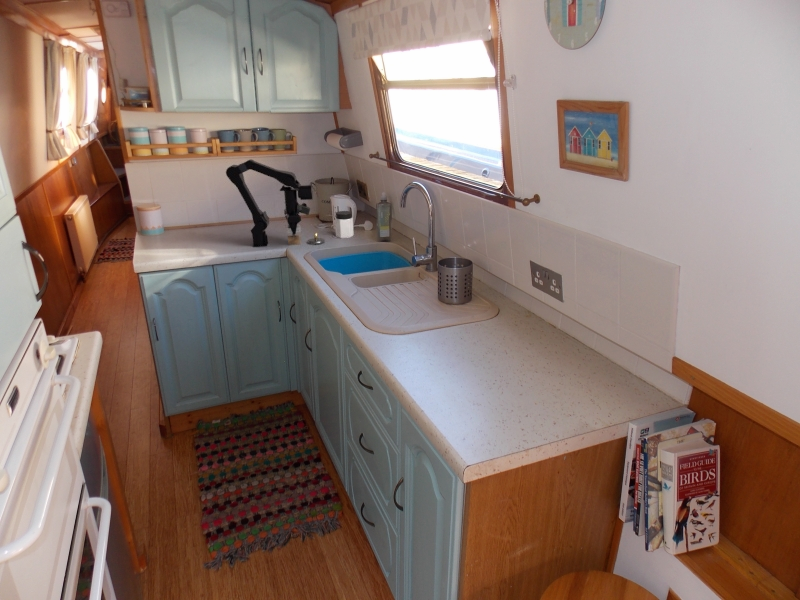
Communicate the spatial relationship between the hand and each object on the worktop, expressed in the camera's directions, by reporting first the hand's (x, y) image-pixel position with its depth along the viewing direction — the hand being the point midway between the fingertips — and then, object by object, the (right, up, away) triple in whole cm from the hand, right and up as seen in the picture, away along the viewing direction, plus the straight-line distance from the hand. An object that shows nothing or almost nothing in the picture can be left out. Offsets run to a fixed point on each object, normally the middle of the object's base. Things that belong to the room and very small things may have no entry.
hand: (293, 232), depth 270 cm
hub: (+10, -4, +4) cm, 12 cm away
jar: (+23, 0, +15) cm, 28 cm away
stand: (0, -5, +2) cm, 6 cm away
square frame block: (0, +1, 0) cm, 1 cm away
